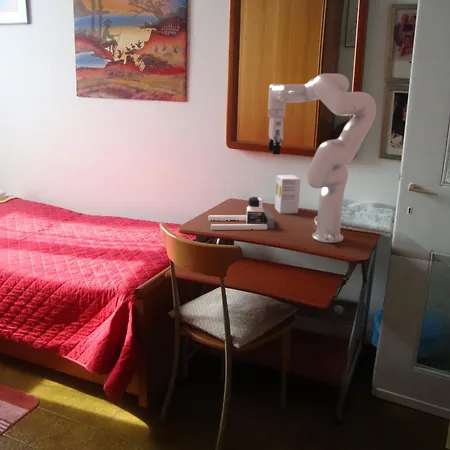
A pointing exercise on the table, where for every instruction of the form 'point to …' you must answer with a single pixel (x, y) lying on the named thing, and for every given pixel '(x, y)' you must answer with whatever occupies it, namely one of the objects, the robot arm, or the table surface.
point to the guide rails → (233, 226)
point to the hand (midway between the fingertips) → (274, 152)
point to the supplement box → (287, 193)
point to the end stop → (268, 219)
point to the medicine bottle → (255, 211)
